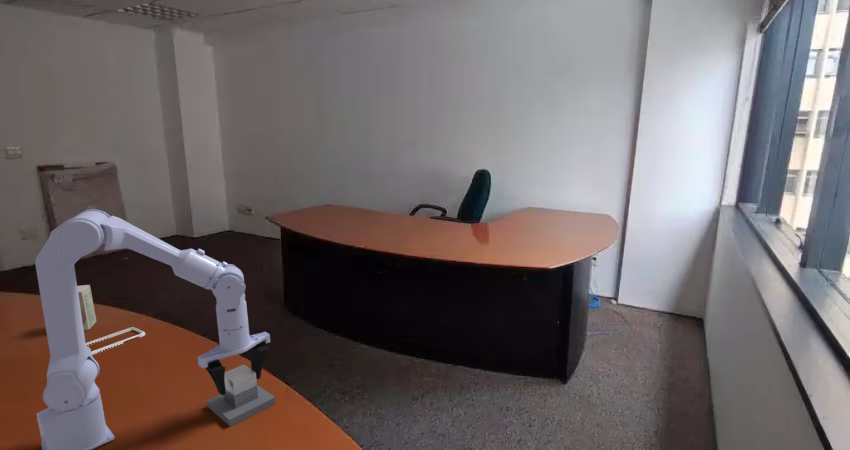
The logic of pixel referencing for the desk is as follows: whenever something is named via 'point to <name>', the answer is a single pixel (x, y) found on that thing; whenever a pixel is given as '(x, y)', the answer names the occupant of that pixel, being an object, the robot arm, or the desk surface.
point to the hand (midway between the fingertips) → (239, 384)
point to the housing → (240, 386)
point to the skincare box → (86, 306)
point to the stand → (242, 412)
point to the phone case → (116, 342)
